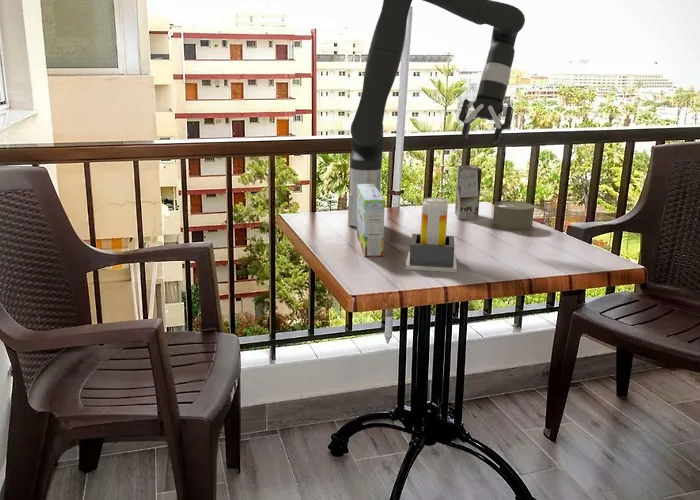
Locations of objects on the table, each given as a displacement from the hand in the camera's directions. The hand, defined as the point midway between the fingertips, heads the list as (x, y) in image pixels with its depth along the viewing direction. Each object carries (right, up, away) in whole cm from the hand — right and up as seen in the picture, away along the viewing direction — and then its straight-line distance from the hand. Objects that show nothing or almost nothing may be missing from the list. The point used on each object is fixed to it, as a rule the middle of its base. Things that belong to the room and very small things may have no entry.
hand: (479, 140), depth 182 cm
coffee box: (+2, -20, +30) cm, 36 cm away
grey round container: (+14, -24, +18) cm, 33 cm away
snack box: (-31, -30, -5) cm, 43 cm away
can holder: (-16, -34, -20) cm, 42 cm away
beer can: (-16, -33, -20) cm, 42 cm away
